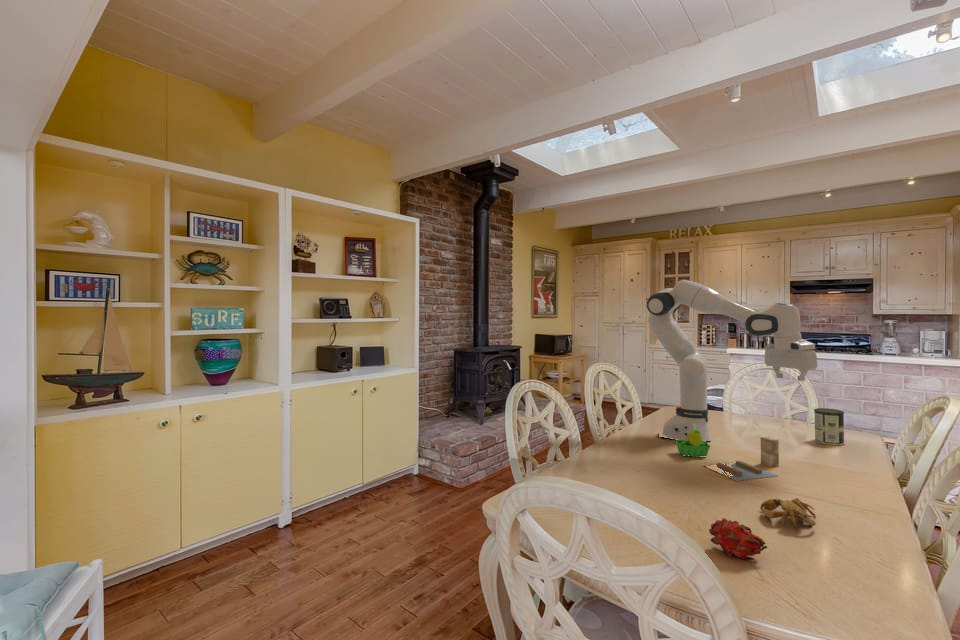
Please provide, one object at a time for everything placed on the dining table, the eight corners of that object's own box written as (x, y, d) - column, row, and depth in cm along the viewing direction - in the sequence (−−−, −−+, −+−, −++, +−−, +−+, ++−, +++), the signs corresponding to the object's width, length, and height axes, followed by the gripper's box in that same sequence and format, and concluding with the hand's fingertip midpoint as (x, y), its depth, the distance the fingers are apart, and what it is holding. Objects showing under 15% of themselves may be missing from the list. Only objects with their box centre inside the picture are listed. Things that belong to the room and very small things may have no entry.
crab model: (762, 505, 129) (762, 486, 129) (816, 516, 121) (815, 496, 122) (757, 524, 117) (756, 504, 117) (816, 538, 109) (815, 516, 109)
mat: (741, 461, 167) (741, 457, 167) (778, 476, 151) (778, 471, 151) (701, 465, 163) (701, 461, 163) (736, 481, 147) (736, 476, 147)
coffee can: (831, 438, 195) (831, 407, 195) (850, 445, 185) (850, 412, 185) (808, 439, 196) (808, 408, 196) (826, 445, 185) (826, 413, 185)
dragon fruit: (705, 550, 107) (762, 574, 100) (703, 542, 101) (763, 567, 94) (713, 516, 110) (768, 537, 103) (711, 507, 105) (770, 529, 97)
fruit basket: (703, 452, 179) (702, 425, 179) (712, 459, 170) (712, 431, 170) (674, 452, 180) (674, 425, 180) (682, 459, 171) (682, 430, 171)
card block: (769, 462, 165) (769, 436, 165) (778, 466, 161) (778, 439, 161) (760, 463, 164) (760, 437, 164) (770, 467, 160) (769, 440, 160)
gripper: (759, 343, 178) (761, 377, 178) (805, 345, 158) (807, 383, 158) (772, 342, 179) (774, 375, 179) (819, 344, 159) (821, 381, 159)
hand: (790, 379), depth 168 cm, fingers open, 8 cm apart
